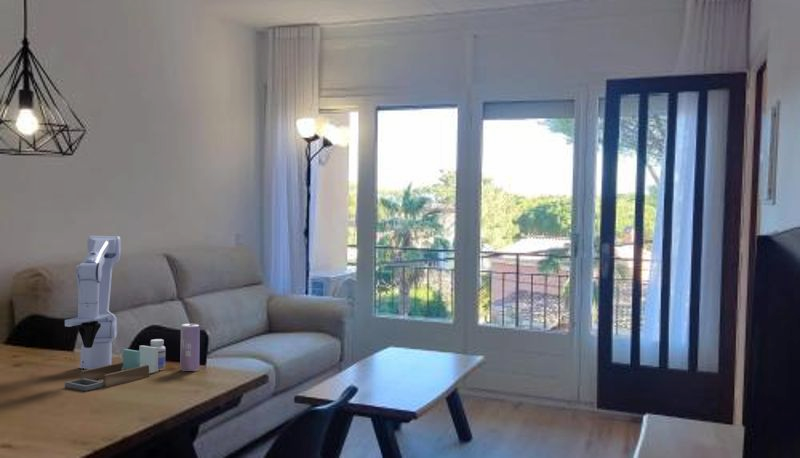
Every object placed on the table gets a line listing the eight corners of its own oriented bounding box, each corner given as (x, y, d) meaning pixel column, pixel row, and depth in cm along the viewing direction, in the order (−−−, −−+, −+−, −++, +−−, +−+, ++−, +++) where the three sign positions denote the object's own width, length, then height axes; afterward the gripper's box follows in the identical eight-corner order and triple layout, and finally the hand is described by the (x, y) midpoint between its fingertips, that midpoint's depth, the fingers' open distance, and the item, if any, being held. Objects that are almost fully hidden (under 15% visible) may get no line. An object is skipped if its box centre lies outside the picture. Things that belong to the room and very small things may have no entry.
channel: (80, 382, 199) (80, 371, 199) (124, 372, 213) (124, 361, 213) (106, 387, 194) (106, 375, 194) (148, 376, 208) (149, 365, 208)
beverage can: (202, 368, 220) (202, 323, 220) (194, 372, 215) (195, 326, 214) (184, 367, 221) (185, 323, 221) (177, 371, 215) (177, 325, 215)
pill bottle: (144, 369, 217) (144, 340, 217) (157, 366, 222) (157, 337, 221) (155, 372, 214) (155, 342, 214) (168, 368, 219) (169, 339, 219)
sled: (121, 373, 210) (121, 349, 210) (141, 368, 217) (142, 345, 217) (137, 376, 207) (138, 351, 207) (157, 371, 214) (158, 347, 214)
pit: (64, 387, 193) (64, 382, 193) (82, 383, 198) (82, 378, 198) (85, 391, 189) (86, 386, 189) (103, 387, 194) (103, 382, 194)
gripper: (76, 306, 192) (75, 352, 192) (117, 301, 205) (117, 344, 205) (60, 304, 195) (59, 350, 195) (102, 299, 208) (101, 342, 208)
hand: (88, 347), depth 200 cm, fingers closed
